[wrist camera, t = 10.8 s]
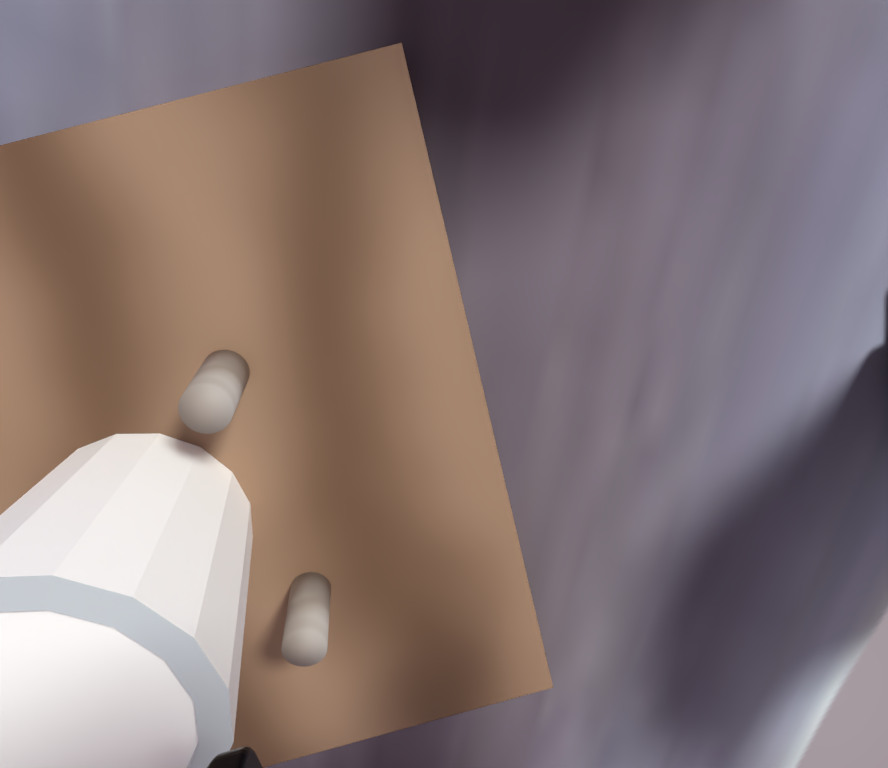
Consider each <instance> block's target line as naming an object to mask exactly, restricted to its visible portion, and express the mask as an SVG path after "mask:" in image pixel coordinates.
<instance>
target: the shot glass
mask: <svg viewBox="0 0 888 768" xmlns="http://www.w3.org/2000/svg"><path fill="white" fill-rule="evenodd" d="M252 540H253V534H252V519H251V505H250V502H249V500H248V499H247V497H246V495H245V493H244V492H243V490H242V488H241V486H240V485H239V483H238V481H237V479H236V478H235V476H234V474H233V472H232V471H230V470H229V469H228V468H227V467H225V466H224V465H223V464H221V463H220V462H219V461H218V460H216V459H215V458H214V457H213V456H211V455H210V454H209V453H208V452H206V451H205V450H204V449H202V448H201V447H199V446H196V445H193V444H190V443H187V442H184V441H181V440H178V439H175V438H172V437H169V436H166V435H163V434H160V433H152V434H115V435H112V436H109V437H107V438H104V439H102V440H99V441H97V442H94V443H91V444H89V445H86V446H84V447H81V448H79V449H77V450H76V451H75V452H73V453H72V454H71V455H70V456H69V457H68V458H66V459H65V460H64V461H63V462H62V463H61V464H59V465H58V466H57V467H56V468H55V469H54V470H52V471H51V472H50V473H49V474H48V475H47V476H45V477H44V478H43V479H42V480H41V481H40V482H38V483H37V484H36V485H35V486H34V487H33V488H31V489H30V490H29V491H28V492H27V493H26V494H24V495H23V496H22V497H21V498H20V499H18V500H17V501H16V502H15V503H14V504H13V505H11V506H10V507H9V508H8V509H7V510H6V511H4V512H3V513H2V514H1V515H0V768H207V766H208V765H209V763H210V762H211V760H212V759H213V758H214V757H215V756H216V755H218V754H220V753H223V752H226V751H230V749H231V747H232V744H233V742H234V732H235V721H236V710H237V700H238V689H239V678H240V668H241V657H242V646H243V636H244V625H245V614H246V604H247V593H248V582H249V572H250V561H251V550H252Z"/></svg>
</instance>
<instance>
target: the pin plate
mask: <svg viewBox="0 0 888 768" xmlns="http://www.w3.org/2000/svg"><path fill="white" fill-rule="evenodd" d="M152 433H160V434H163V435H166V436H169V437H172V438H175V439H178V440H181V441H184V442H187V443H190V444H193V445H196V446H199V447H201V448H202V449H204V450H205V451H206V452H208V453H209V454H210V455H211V456H213V457H214V458H215V459H216V460H218V461H219V462H220V463H221V464H223V465H224V466H225V467H227V468H228V469H229V470H230V471H232V472H233V474H234V476H235V478H236V479H237V481H238V483H239V485H240V486H241V488H242V490H243V492H244V493H245V495H246V497H247V499H248V500H249V502H250V505H251V519H252V534H253V540H252V550H251V561H250V572H249V582H248V593H247V604H246V614H245V625H244V636H243V646H242V657H241V668H240V678H239V689H238V700H237V710H236V721H235V732H234V742H233V744H232V747H231V749H230V750H233V749H237V748H241V747H244V746H246V747H248V746H249V747H251V748H252V749H253V750H254V751H255V753H256V754H257V757H258V759H259V761H260V763H261V765H262V767H267V766H270V765H274V764H278V763H281V762H285V761H289V760H292V759H296V758H299V757H303V756H307V755H310V754H314V753H318V752H321V751H325V750H328V749H332V748H336V747H339V746H343V745H347V744H350V743H354V742H357V741H361V740H365V739H368V738H372V737H375V736H379V735H383V734H386V733H390V732H394V731H397V730H401V729H404V728H408V727H412V726H415V725H419V724H423V723H426V722H430V721H433V720H437V719H441V718H444V717H448V716H452V715H455V714H459V713H462V712H466V711H470V710H473V709H477V708H481V707H484V706H488V705H491V704H495V703H499V702H502V701H506V700H509V699H513V698H517V697H520V696H524V695H528V694H531V693H535V692H538V691H542V690H546V689H549V688H553V685H552V681H551V676H550V672H549V668H548V664H547V659H546V655H545V651H544V647H543V642H542V638H541V634H540V629H539V625H538V621H537V617H536V612H535V608H534V604H533V600H532V595H531V591H530V587H529V583H528V578H527V574H526V570H525V566H524V561H523V557H522V553H521V549H520V544H519V540H518V536H517V532H516V527H515V523H514V519H513V515H512V510H511V506H510V502H509V498H508V493H507V489H506V485H505V480H504V476H503V472H502V468H501V463H500V459H499V455H498V451H497V446H496V442H495V438H494V434H493V429H492V425H491V421H490V417H489V412H488V408H487V404H486V400H485V395H484V391H483V387H482V383H481V378H480V374H479V370H478V366H477V361H476V357H475V353H474V349H473V344H472V340H471V336H470V331H469V327H468V323H467V319H466V314H465V310H464V306H463V302H462V297H461V293H460V289H459V285H458V280H457V276H456V272H455V268H454V263H453V259H452V255H451V251H450V246H449V242H448V238H447V234H446V229H445V225H444V221H443V217H442V212H441V208H440V204H439V200H438V195H437V191H436V187H435V183H434V178H433V174H432V170H431V165H430V161H429V157H428V153H427V148H426V144H425V140H424V136H423V131H422V127H421V123H420V119H419V114H418V110H417V106H416V102H415V97H414V93H413V89H412V85H411V80H410V76H409V72H408V68H407V63H406V59H405V55H404V51H403V46H402V43H398V44H394V45H390V46H386V47H382V48H379V49H375V50H371V51H367V52H363V53H359V54H355V55H351V56H347V57H343V58H340V59H336V60H332V61H328V62H324V63H320V64H316V65H312V66H308V67H304V68H301V69H297V70H293V71H289V72H285V73H281V74H277V75H273V76H269V77H265V78H262V79H258V80H254V81H250V82H246V83H242V84H238V85H234V86H230V87H226V88H223V89H219V90H215V91H211V92H207V93H203V94H199V95H195V96H191V97H188V98H184V99H180V100H176V101H172V102H168V103H164V104H160V105H156V106H152V107H149V108H145V109H141V110H137V111H133V112H129V113H125V114H121V115H117V116H113V117H110V118H106V119H102V120H98V121H94V122H90V123H86V124H82V125H78V126H74V127H71V128H67V129H63V130H59V131H55V132H51V133H47V134H43V135H39V136H35V137H32V138H28V139H24V140H20V141H16V142H12V143H8V144H4V145H0V515H1V514H2V513H3V512H4V511H6V510H7V509H8V508H9V507H10V506H11V505H13V504H14V503H15V502H16V501H17V500H18V499H20V498H21V497H22V496H23V495H24V494H26V493H27V492H28V491H29V490H30V489H31V488H33V487H34V486H35V485H36V484H37V483H38V482H40V481H41V480H42V479H43V478H44V477H45V476H47V475H48V474H49V473H50V472H51V471H52V470H54V469H55V468H56V467H57V466H58V465H59V464H61V463H62V462H63V461H64V460H65V459H66V458H68V457H69V456H70V455H71V454H72V453H73V452H75V451H76V450H77V449H79V448H81V447H84V446H86V445H89V444H91V443H94V442H97V441H99V440H102V439H104V438H107V437H109V436H112V435H115V434H152Z"/></svg>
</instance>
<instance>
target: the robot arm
mask: <svg viewBox="0 0 888 768" xmlns="http://www.w3.org/2000/svg"><path fill="white" fill-rule="evenodd" d="M207 768H263V767H262V765H261V763H260V761H259V759H258V757H257V754H256V753H255V751H254V750H253V749H252V748H251V747H249V746H248V747H246V746H244V747H241V748H237V749H233V750H230V751H226V752H223V753H220V754H218V755H216V756H215V757H214V758H213V759H212V760H211V762H210V763H209V765H208V766H207Z"/></svg>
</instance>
